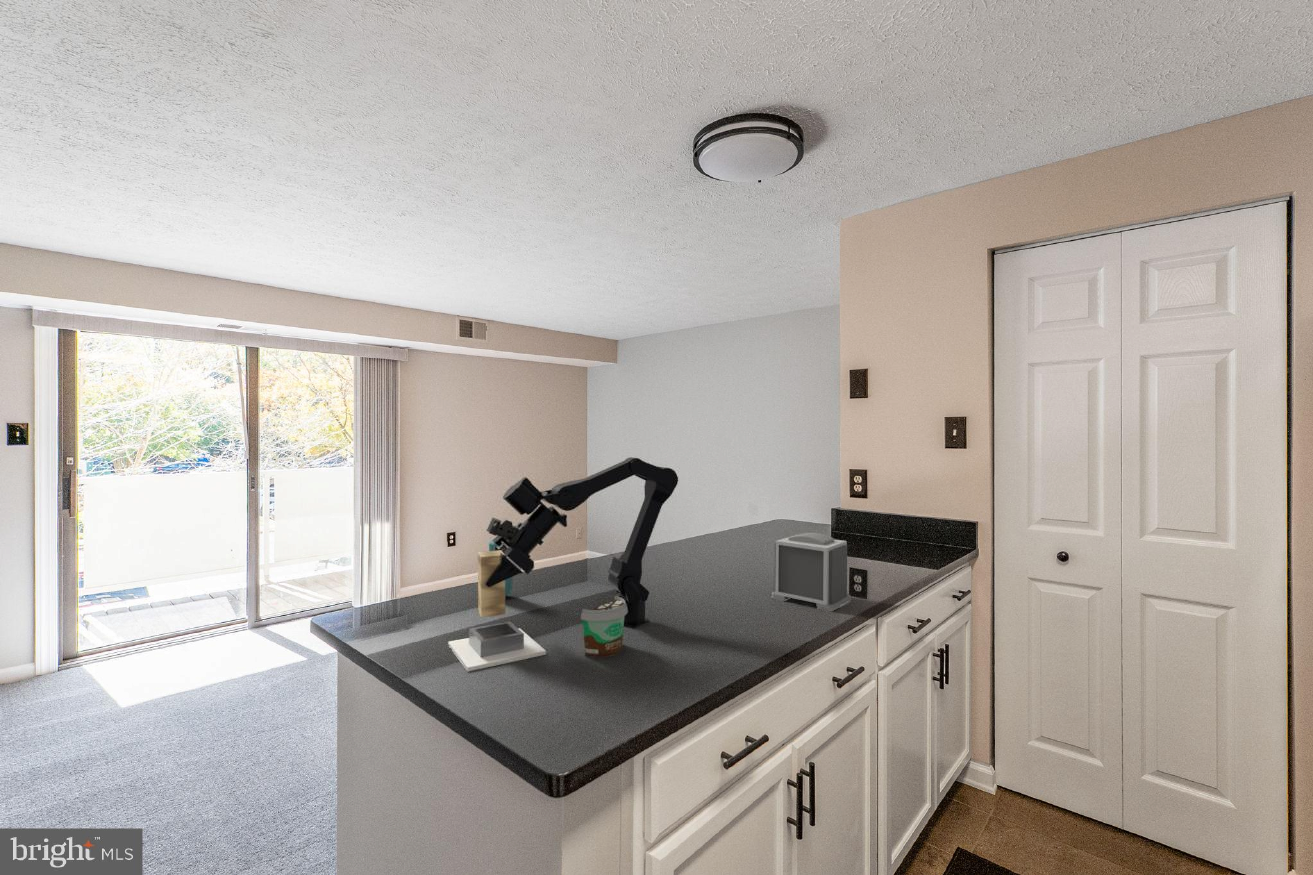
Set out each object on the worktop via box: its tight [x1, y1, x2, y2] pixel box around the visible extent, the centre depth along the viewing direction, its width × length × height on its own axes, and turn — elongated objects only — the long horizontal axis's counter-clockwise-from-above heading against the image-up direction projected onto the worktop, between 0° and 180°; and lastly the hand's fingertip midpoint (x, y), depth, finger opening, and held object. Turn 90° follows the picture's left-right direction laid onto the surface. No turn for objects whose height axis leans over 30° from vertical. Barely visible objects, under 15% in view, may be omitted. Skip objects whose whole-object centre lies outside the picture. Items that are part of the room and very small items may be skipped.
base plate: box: [447, 627, 547, 673], centre depth 121 cm, size 16×16×1 cm
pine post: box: [477, 550, 506, 618], centre depth 125 cm, size 5×5×13 cm
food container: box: [580, 595, 628, 658], centre depth 121 cm, size 12×6×10 cm, turn 148°
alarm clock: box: [771, 532, 852, 608], centre depth 159 cm, size 18×13×18 cm
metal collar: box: [468, 621, 524, 658], centre depth 121 cm, size 9×9×3 cm
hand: (485, 582), depth 124 cm, fingers closed on pine post, 5 cm apart
